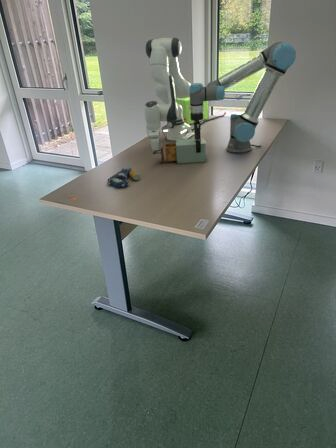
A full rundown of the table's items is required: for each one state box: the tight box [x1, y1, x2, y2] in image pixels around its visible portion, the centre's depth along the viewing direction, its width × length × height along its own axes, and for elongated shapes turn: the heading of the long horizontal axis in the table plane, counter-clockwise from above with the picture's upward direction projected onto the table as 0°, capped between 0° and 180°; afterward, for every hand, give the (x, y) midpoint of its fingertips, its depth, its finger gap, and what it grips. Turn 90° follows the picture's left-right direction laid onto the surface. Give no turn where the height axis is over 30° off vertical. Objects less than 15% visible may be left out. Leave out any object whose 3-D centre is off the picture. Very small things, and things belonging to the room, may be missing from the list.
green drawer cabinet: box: [175, 137, 207, 164], centre depth 205 cm, size 17×10×11 cm, turn 90°
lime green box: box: [176, 96, 210, 126], centre depth 283 cm, size 25×21×23 cm
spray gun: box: [106, 167, 141, 189], centre depth 186 cm, size 21×4×15 cm
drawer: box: [152, 142, 177, 164], centre depth 205 cm, size 22×9×9 cm, turn 90°
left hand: (156, 152), depth 206 cm, fingers closed, pressing on drawer
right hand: (197, 149), depth 204 cm, fingers closed on green drawer cabinet, 10 cm apart
